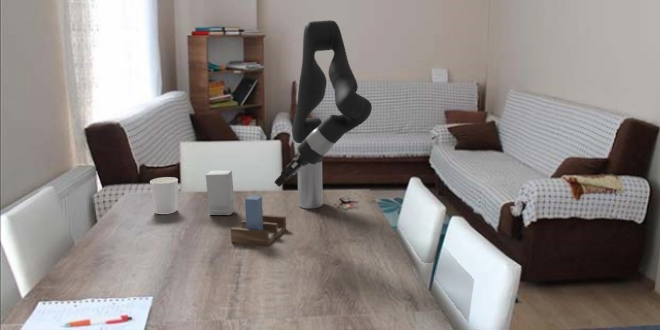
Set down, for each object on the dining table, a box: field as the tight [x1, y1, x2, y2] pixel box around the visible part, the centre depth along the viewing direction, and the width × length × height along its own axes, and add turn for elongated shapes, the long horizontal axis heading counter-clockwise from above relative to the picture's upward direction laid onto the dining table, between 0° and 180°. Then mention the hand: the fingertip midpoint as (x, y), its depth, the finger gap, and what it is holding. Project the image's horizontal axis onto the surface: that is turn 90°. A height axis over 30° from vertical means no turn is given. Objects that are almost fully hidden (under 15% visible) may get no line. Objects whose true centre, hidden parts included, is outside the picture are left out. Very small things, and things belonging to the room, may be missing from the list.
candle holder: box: [149, 176, 179, 213], centre depth 216 cm, size 10×10×12 cm
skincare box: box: [205, 170, 236, 216], centre depth 212 cm, size 8×7×16 cm
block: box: [244, 195, 264, 230], centre depth 185 cm, size 4×4×12 cm
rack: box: [230, 214, 287, 247], centre depth 189 cm, size 16×12×4 cm
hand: (282, 180), depth 180 cm, fingers open, 8 cm apart
